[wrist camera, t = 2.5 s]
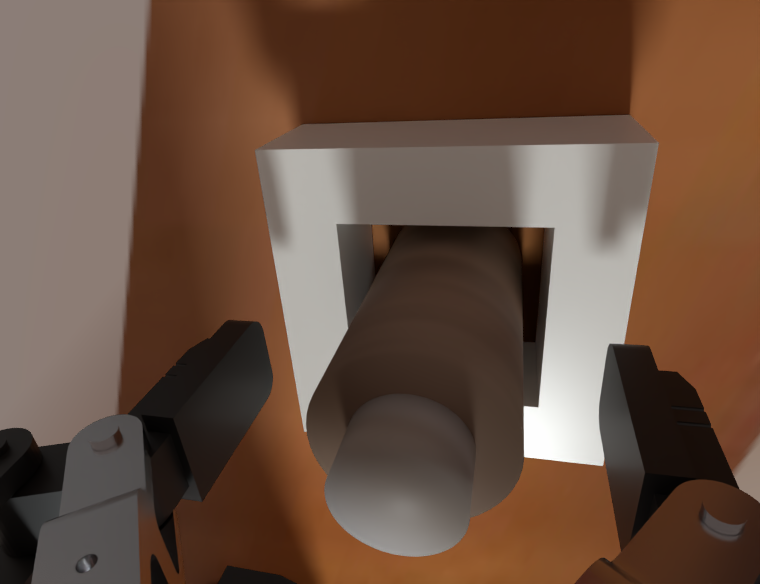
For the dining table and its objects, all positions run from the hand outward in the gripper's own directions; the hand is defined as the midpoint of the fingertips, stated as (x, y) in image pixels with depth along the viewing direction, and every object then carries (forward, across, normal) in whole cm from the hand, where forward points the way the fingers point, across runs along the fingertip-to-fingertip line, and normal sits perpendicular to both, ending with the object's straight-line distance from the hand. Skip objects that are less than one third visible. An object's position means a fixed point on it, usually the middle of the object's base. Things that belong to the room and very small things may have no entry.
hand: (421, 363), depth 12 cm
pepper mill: (+6, 0, 0) cm, 6 cm away
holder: (+6, 0, 0) cm, 6 cm away
